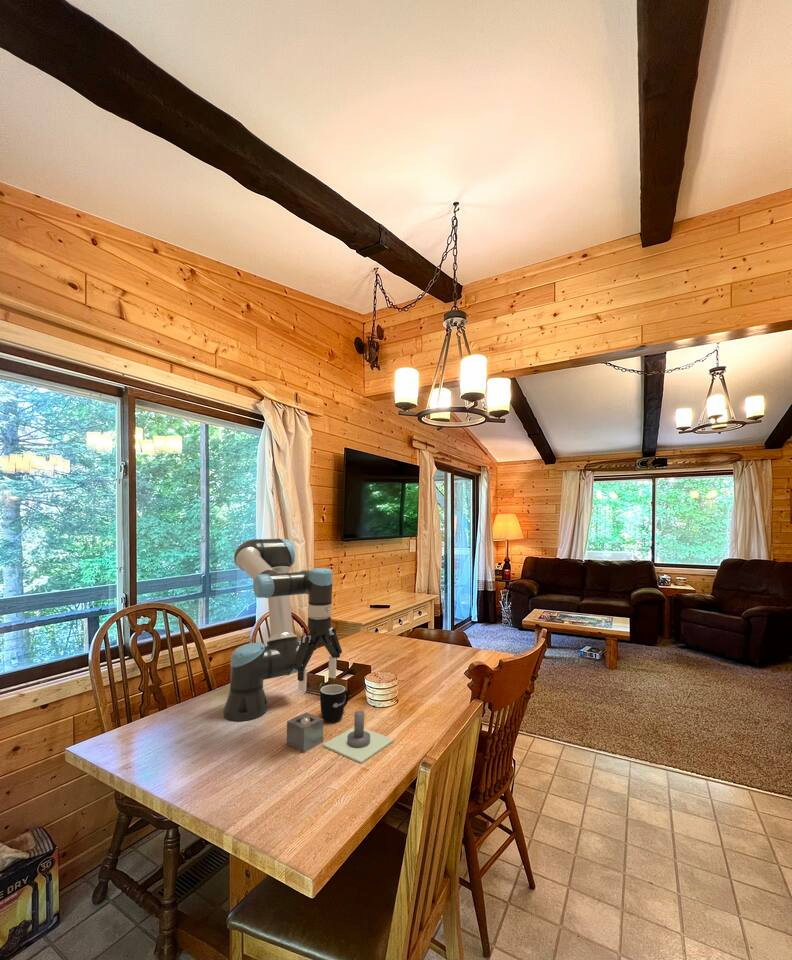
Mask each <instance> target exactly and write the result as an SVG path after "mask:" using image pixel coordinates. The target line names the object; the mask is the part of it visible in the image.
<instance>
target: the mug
mask: <svg viewBox="0 0 792 960" xmlns="http://www.w3.org/2000/svg"><path fill="white" fill-rule="evenodd" d="M319 700H320V701H319V702H320V713H321V718H322V719H323V722H325V723H336V722H339V721H340V720H341V719H342V717H343V714H344V710H345V707H346V706H347V704H348V703H349V702H348V701H349V693H348V691H347V690H346V687H345V686H343V685H341V684H327V685H324V686H322V687H321V688H320V691H319Z"/></svg>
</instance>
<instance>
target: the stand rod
mask: <svg viewBox="0 0 792 960" xmlns="http://www.w3.org/2000/svg"><path fill="white" fill-rule="evenodd" d="M300 723H301V724H304V725H306V724H308V723H310V717H308V716H304V717H302V718H301V721H300Z"/></svg>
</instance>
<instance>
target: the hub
mask: <svg viewBox="0 0 792 960" xmlns="http://www.w3.org/2000/svg"><path fill="white" fill-rule="evenodd" d="M353 724H354V726H353V727H351V728H349V729H348V730H346V731H344V732H342V733H340V734H338V735H337V736H335V737H333V738H332V739H330V740H327V741H326V742H323V744H322V747H323V748H324V749H328V750H329V751H331V752H334V753H336V754H338V755H341V756H342V757H345V758H348V759H349V760H352V761H354V762H355V763H358V764H360V765H362V764H363V763H366V761H368V760H369V759H371V758H372V757H374V756H375V755H376V754H378V753H379V752H381V751H382V750H384V749H386V747H389V746H390V745H391V744H392V743H394V742H395V739H394V738H391V737H389V736H387V735H383V734H381V733H378V732H375V731H373V730H370V729H368V728H366V727H365V712H364V711H362V710H356V711H355V712H354V723H353Z"/></svg>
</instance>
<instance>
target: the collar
mask: <svg viewBox="0 0 792 960" xmlns="http://www.w3.org/2000/svg"><path fill="white" fill-rule="evenodd" d="M304 716H308V717H310V723H308V724H306V725H304V724H301V723H300V721H301V718H302V717H304ZM322 743H324V720H323V717H319V716H316V715H314V714H312V713H309V712H306V711H305V712H304V713H302V714H300V715H297V716H295V717H293V718H291V719H289V720H287V721H286V745H287V746H289V747H291V748H293V749H295V750H297V751H299V752H301V753H305V752H308V751H309V750H311V749H313V748H314V747H316V746H318V745H320V744H322Z"/></svg>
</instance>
